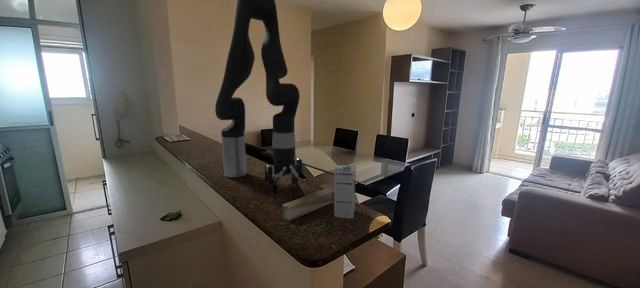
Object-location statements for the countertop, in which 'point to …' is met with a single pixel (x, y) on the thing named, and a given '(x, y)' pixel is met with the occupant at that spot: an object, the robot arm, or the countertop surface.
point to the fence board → (306, 204)
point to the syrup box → (344, 191)
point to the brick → (295, 192)
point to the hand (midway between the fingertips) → (284, 191)
